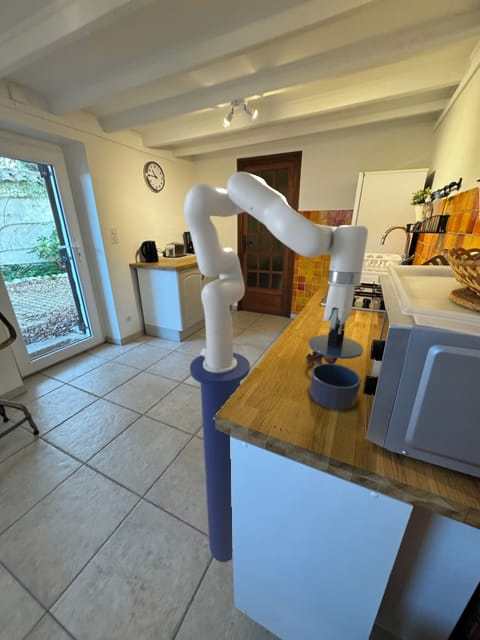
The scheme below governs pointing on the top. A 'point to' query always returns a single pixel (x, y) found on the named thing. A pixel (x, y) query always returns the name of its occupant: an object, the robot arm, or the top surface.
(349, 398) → the bowl
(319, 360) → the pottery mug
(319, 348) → the bowl lid
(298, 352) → the top surface
